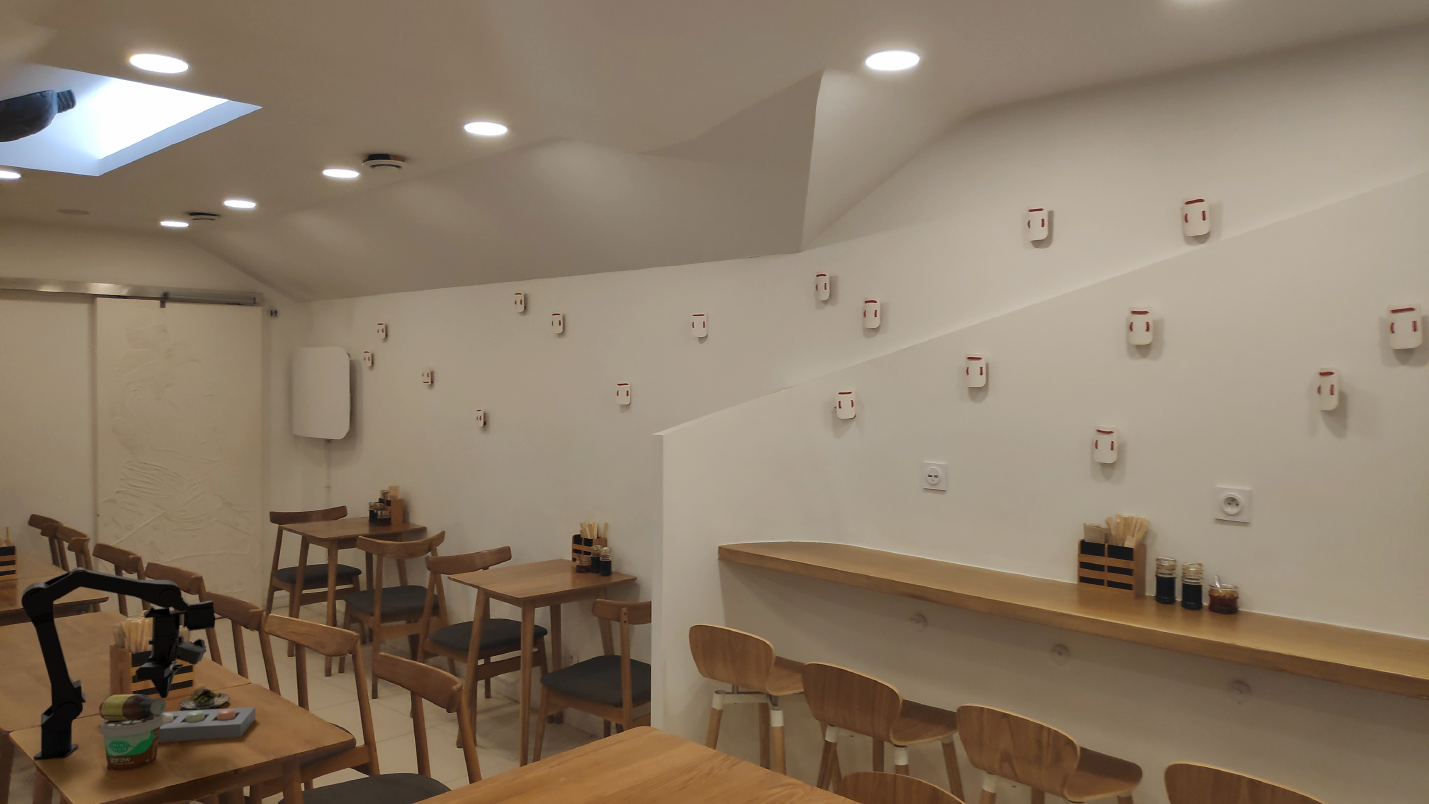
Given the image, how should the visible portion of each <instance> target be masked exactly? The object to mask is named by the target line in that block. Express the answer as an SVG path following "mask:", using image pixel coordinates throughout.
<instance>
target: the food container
mask: <svg viewBox="0 0 1429 804" xmlns="http://www.w3.org/2000/svg"><path fill="white" fill-rule="evenodd" d="M163 724H164V723H163V718H161V715H160V716H159V717H157V718H155V719H153V720H143V719H141V720H127V721H114V722H106V719H103V720H102V723H101V724H100V729H99V733H100V735H102V736H103V739H104V740H103V741H104V749H105V756H106V758H105V759H106V765H107V769H109V770H111V771H119V772H120V771H129V770H135V769H138V768H143V767H145V766H147V765H149V764H152V763H154V762H155V761H156V760H157V753H158V746H159V742H158V739H159V731H160V726H161V725H163Z"/></svg>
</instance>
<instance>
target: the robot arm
mask: <svg viewBox="0 0 1429 804" xmlns="http://www.w3.org/2000/svg"><path fill="white" fill-rule="evenodd" d="M79 588H86V589H90V590H97V591H101V592H107V593H113V594H117V595H122V596H129V597H134V598H138V599H140V600H141V601H144V602H146V603H149V604H152V605H153V606H152V605H150V606H149V608H148V609H147V610H146V611H144V612H143V614H142V615H143V617H144V619H152V624H151V625H152V626H151V629H152V630H151V639H149V640H148V645H149V646H151V655H150V656H149V657H147V662H146V663H144V664H142V665H141V666H140V667H138V668H137V669H136V670H135V680H139V681H141V680H150V681H151V682H152V684H153V686H154V688H155V689H156V691H157V693H158V695H159V696H160V698H161V699H166V698H168V695H169V692H170V689H171V686H172V683H173V680H174V677H175V674H176V673H177V672H178V671H179V670H180V669H181V668H183V667H184V664H183V663H182V664H181V663H180V664H178V661H177V660H179V661H182V662H185V663H189V665H193V666H195V665H198V663H199V662H202V659H203V658H204V657H203V656H204V655H205V653H206V652H207V646H206V645H205V639H203V638H197V639H196V640H195V641H194V642H192V641H188V642H187V641H185V640H184V637H185V636H184V635H183V634H180V626H181V625H182V628H186V629H187V632H190V631H200V630H207V629H215V627H216V626H215V625H216V615H215V608H214V601H213V600H206V601H202V602H201V601H200V602H191V603H190V602H189V601H188V600H187V599H186V598H183V596H182V595H183V594H182V591H181V589H180V586H178V584H177V583H176V582H175V581H173V580H170V579H137V578H133V577H126V576H122V575H116V574H111V573H107V572H102V571H96V570H92V569H87V568H84V567H81V566H80V567H75V568H73V569H71V570H70V571H67V572H66V573H63V574H60V575H58V576H55V577H53V578H50V579H49V580H48V579H47V580H46V581H44V582H39V581H38V582H34V583H31V584H28V585H27V586H26V587H25V588H24V590H23V591H22V595H21V601H20V603H21V606H22V608H23V610H24V611H25V613H26V615H27V617H28V619H29V620H30V622H31V623H32V625H33V627H34V629H35V631H36V635H37V639H38V643H39V646H40V650H41V653H42V656H43V660H44V661H43V662H44V664H45V667H46V671H47V675H48V678H49V681H50V693H51V705H50V706H49V707H48V708H46V710H45V711H43V712H42V713H41V714H40V751H38V753H36V754H35V755H34V756H33V759H34V760H36V759H37V760H38V759H40V760H41V759H53V758H56V759H57V758H64V757H67V756H68V755H69V754H71V753H73V751H75V750H76V749H77V748H78V747H79V744H76V743H75V744H72V742H73V741H72V739H73V738H72V737H73V736H72V735H73V733H72V732H73V721H74V720H75V719H77V718H78V717H79V716H80V715H81V714H82V713H83V711H84V708H83V707H84V706H83V705H84V704H86V702H87V701H86V693H85V692H84V691H83V690H82V689H83V688H82V681H81V679H80V678H79V679H78V680H75V681H74V680H73V678H72V676H71V675H70V672H69V669H68V665H67V661H66V657H65V654H64V651H63V646H62V643H61V639H60V635H59V632H58V629H57V625H56V622H55V606H54V605H55V604H54V602H55V601H58V600H59V599H61V598H63V597H64V596H66V595H68V594H70V593H71V592H74V591H75V590H77V589H79ZM188 602H189V603H188ZM154 606H157V607H160V608H155V607H154ZM170 608H172V609H174V610H171V609H170ZM181 616H182V617H181ZM180 620H181V621H180ZM181 622H182V623H181ZM180 624H181V625H180Z"/></svg>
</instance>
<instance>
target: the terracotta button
mask: <svg viewBox="0 0 1429 804" xmlns="http://www.w3.org/2000/svg"><path fill="white" fill-rule="evenodd" d="M224 709H225V710H221V711H219V712H217V720H234V719H235V710H234V709H228V708H224Z"/></svg>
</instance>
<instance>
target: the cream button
mask: <svg viewBox="0 0 1429 804" xmlns="http://www.w3.org/2000/svg"><path fill="white" fill-rule="evenodd" d="M159 716H160V715H158V716H155V717H154V719H155V718H157V717H159ZM161 718H163V723H172V722H173V714H170V713H167V714H161Z"/></svg>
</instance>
